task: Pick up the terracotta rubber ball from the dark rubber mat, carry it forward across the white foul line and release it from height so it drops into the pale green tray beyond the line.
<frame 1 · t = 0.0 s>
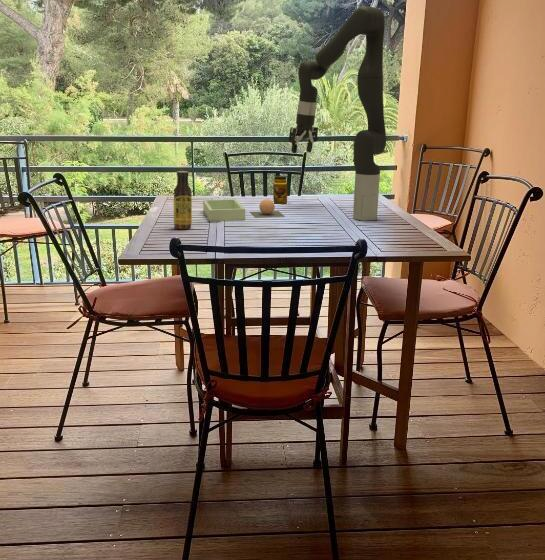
hand: (301, 152, 242), 22 cm above the table, tool pointing down, fingers open, 8 cm apart
tray: (223, 215, 226), on the table
condiment: (279, 203, 253), on the table
foul line: (244, 215, 228), on the table
ball: (267, 214, 228), resting on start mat
sauce bottle: (183, 228, 205), on the table
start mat: (267, 215, 228), on the table
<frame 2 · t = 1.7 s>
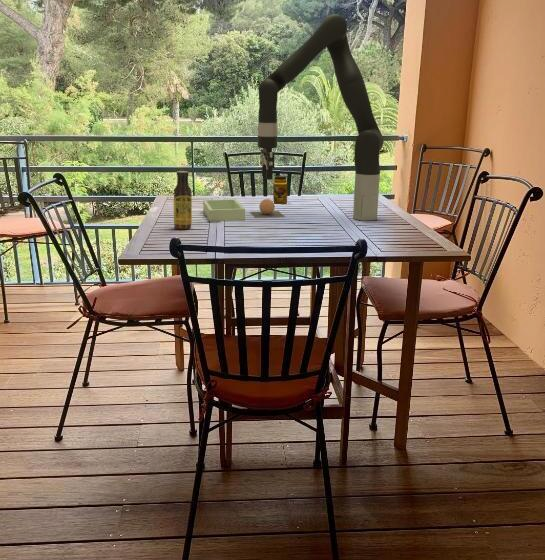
hand: (267, 178, 224), 15 cm above the table, tool pointing down, fingers open, 8 cm apart
nothing on the table moved.
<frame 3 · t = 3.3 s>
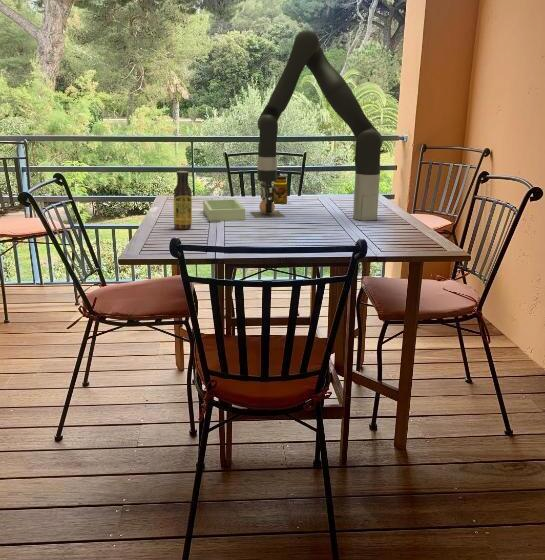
hand: (266, 211, 227), 2 cm above the table, tool pointing down, fingers closed on ball, 6 cm apart
ball: (267, 214, 228), resting on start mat, touching gripper
everything else where it was.
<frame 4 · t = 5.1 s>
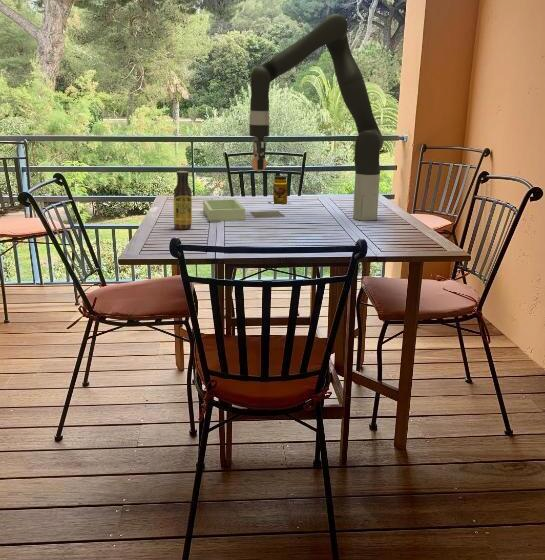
hand: (258, 168, 222), 18 cm above the table, tool pointing down, fingers closed on ball, 6 cm apart
ball: (258, 171, 223), point 17 cm above the table, touching gripper
everything else where it was.
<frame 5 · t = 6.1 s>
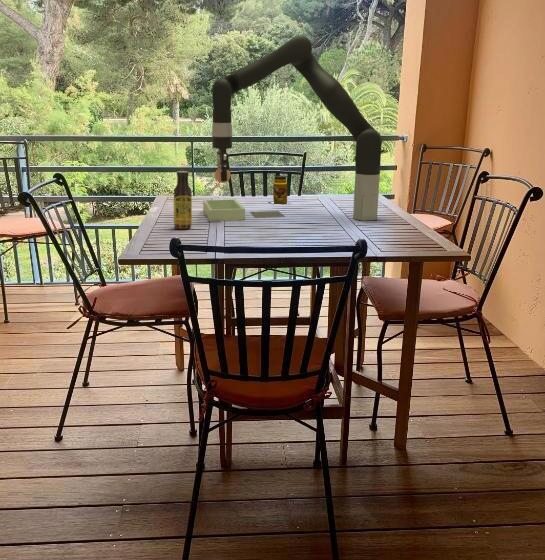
hand: (222, 180, 222), 14 cm above the table, tool pointing down, fingers closed on ball, 6 cm apart
ball: (222, 182, 222), point 13 cm above the table, touching gripper
everything else where it was.
when the fingers open (12 cm above the table, at t = 6.8 s): ball drops 10 cm, resting on tray.
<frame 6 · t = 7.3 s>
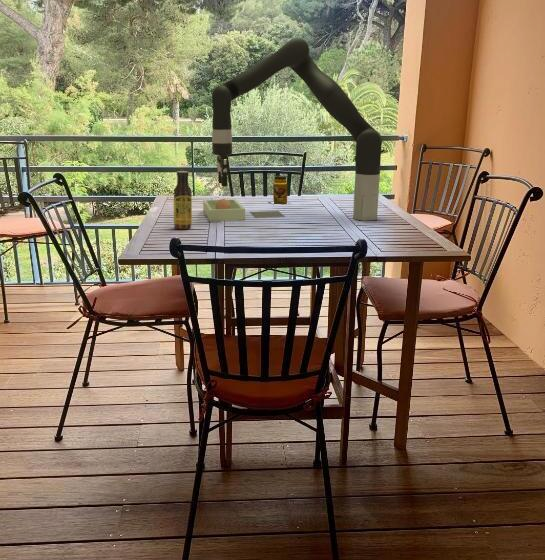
hand: (222, 184, 222), 12 cm above the table, tool pointing down, fingers open, 8 cm apart
ball: (223, 214, 226), point 1 cm above the table, touching tray
everything else where it was.
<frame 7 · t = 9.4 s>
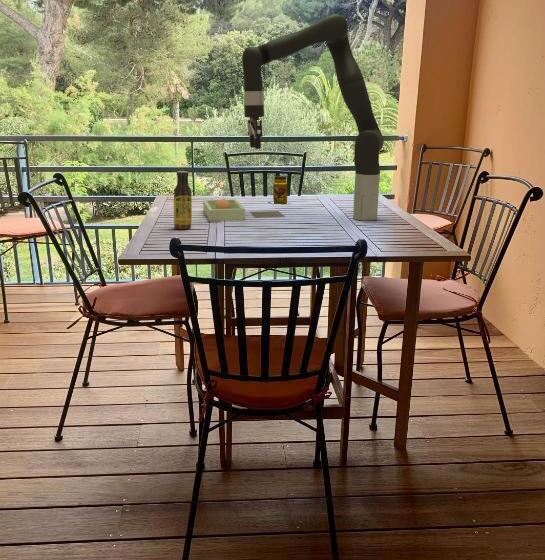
hand: (255, 148, 222), 26 cm above the table, tool pointing down, fingers open, 8 cm apart
nothing on the table moved.
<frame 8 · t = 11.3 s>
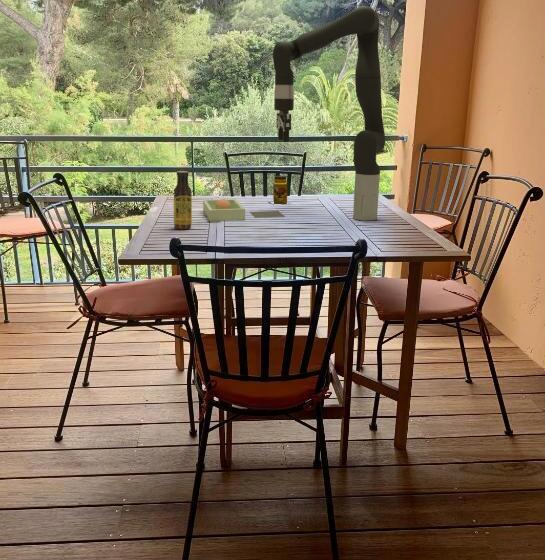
hand: (283, 140, 227), 28 cm above the table, tool pointing down, fingers open, 8 cm apart
nothing on the table moved.
at the end: ball inside the target area on the tray (0.0 cm from its centre), point 0.6 cm above the tray's base; the gripper is holding nothing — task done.
